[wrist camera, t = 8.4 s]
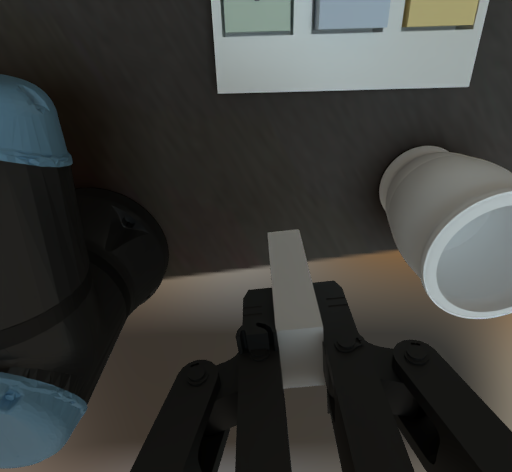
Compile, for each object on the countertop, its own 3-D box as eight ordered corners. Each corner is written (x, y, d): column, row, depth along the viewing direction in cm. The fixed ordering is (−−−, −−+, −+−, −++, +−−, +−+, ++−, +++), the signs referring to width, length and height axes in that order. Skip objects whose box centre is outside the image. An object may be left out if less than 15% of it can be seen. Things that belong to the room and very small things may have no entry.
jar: (373, 136, 36) (438, 194, 23) (480, 131, 36) (609, 187, 22) (363, 231, 41) (412, 323, 28) (457, 227, 41) (551, 319, 28)
